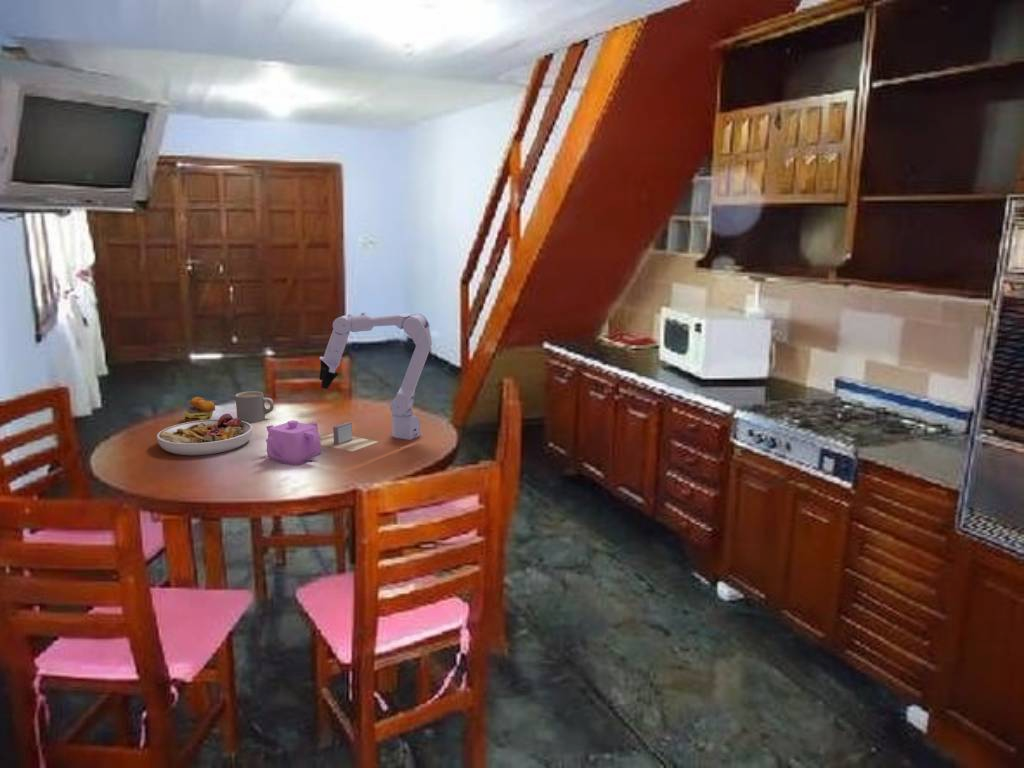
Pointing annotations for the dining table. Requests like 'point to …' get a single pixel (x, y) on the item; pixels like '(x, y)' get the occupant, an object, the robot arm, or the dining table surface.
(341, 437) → the tile
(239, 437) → the bowl
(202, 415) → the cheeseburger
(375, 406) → the dining table surface
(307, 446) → the teakettle
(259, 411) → the coffee mug
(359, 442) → the board
